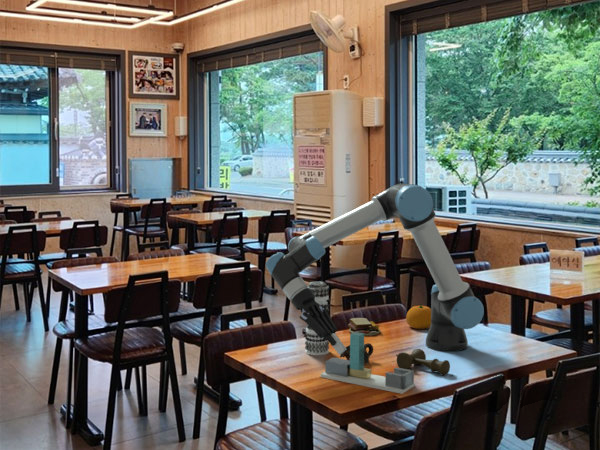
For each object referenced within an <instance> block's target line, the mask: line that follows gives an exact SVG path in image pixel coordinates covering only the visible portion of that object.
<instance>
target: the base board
mask: <svg viewBox="0 0 600 450" xmlns="http://www.w3.org/2000/svg"><path fill="white" fill-rule="evenodd" d="M320 378H325V379H328V380H332V381H339V382H343V383H347V384H353V385H356V386H357V385H358V386H362V387H368V388H372V389H376V390H382V391H387V392H391V393H397V394H401V395H403V394H404V393H406V392H408V391H409V390H411V389H413V388H414V387H416V382H414V384H412V385H410V386H409V387H407V388H405V389H404V390H403V389H398V388H393V387H388V386H385V380H386V376H383V375H378V374H372V373H371V377H370V378H368V379H365V378H360V377H355V376H350V375H348V377H344V376H339V375H334V374H329V373H325V371H324V372H322V373H320Z"/></svg>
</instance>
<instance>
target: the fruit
mask: <svg viewBox="0 0 600 450" xmlns="http://www.w3.org/2000/svg"><path fill="white" fill-rule="evenodd" d="M405 316H406V317H405V320H406V324H407V325H408V326H409V327H410V328H413V329H416V330H427V329H428V330H429V328H430V326H431V307H429V306H426V305H423V303H420V305H414V306H412V307H410V309H408V311H407V313H406V315H405Z"/></svg>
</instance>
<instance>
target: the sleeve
mask: <svg viewBox="0 0 600 450" xmlns="http://www.w3.org/2000/svg"><path fill="white" fill-rule="evenodd" d="M324 363H325V368H324V372H325V373H329V374H334V375H339V376H344V377H348V367H350V359H349V360H348V359H345V358H338V357H332V358H330V359H326V360H325V362H324Z"/></svg>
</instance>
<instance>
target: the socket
mask: <svg viewBox="0 0 600 450" xmlns="http://www.w3.org/2000/svg"><path fill="white" fill-rule="evenodd" d="M385 377H386V380H385V386H388V387H393V388H398V389H403V390H404V389H405V388H407V387H409V386H410V385H412V384H414V383H415V371H414V370H413V369H412V370H411V369H409V370H407V369H402V368H399V367H397V366H396V367H395V368H393V372H390V371H387V372H385Z"/></svg>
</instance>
